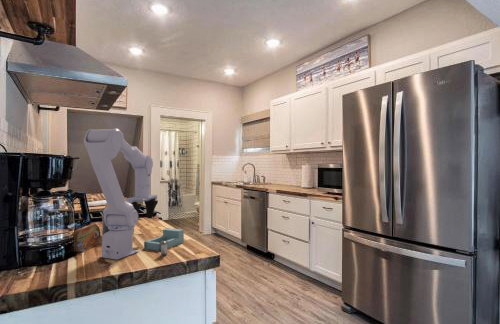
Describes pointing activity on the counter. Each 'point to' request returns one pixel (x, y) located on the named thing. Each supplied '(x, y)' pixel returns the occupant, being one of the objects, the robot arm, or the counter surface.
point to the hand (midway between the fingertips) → (142, 219)
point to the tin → (86, 237)
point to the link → (166, 239)
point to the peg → (163, 248)
